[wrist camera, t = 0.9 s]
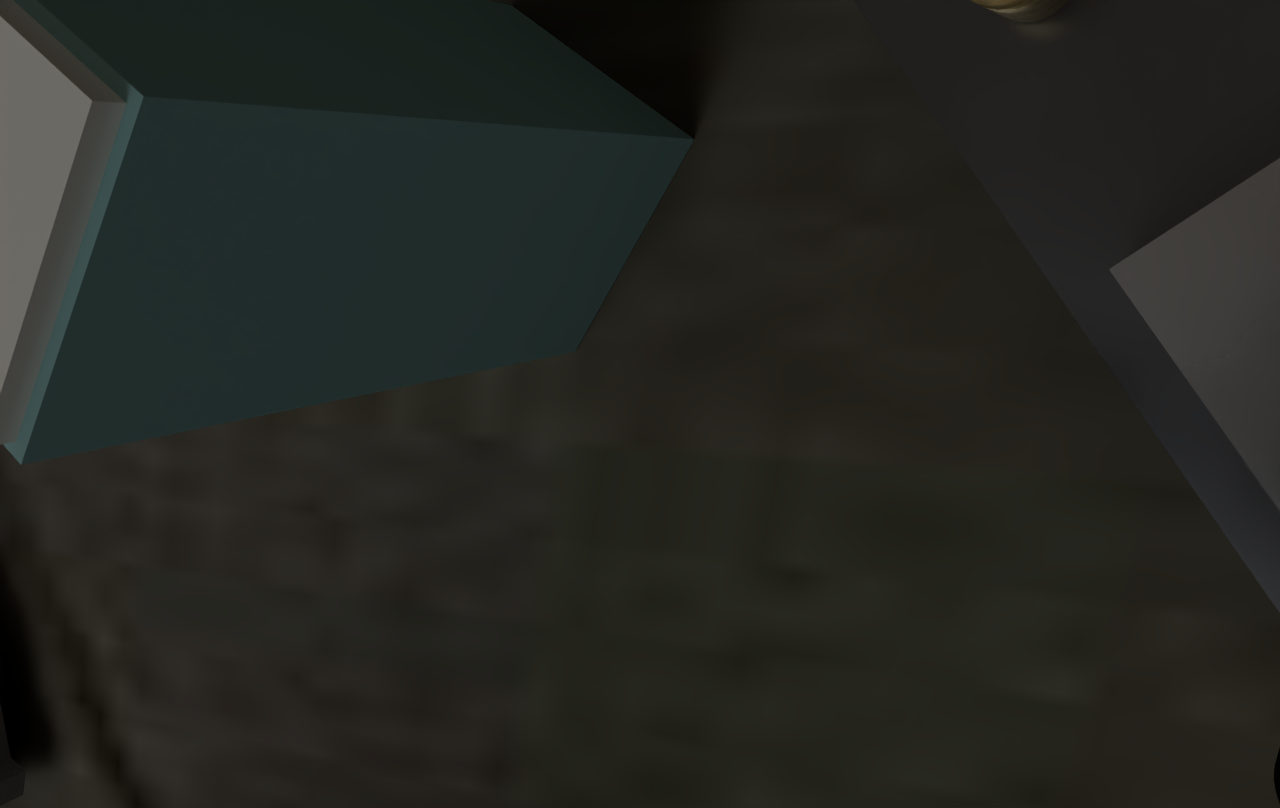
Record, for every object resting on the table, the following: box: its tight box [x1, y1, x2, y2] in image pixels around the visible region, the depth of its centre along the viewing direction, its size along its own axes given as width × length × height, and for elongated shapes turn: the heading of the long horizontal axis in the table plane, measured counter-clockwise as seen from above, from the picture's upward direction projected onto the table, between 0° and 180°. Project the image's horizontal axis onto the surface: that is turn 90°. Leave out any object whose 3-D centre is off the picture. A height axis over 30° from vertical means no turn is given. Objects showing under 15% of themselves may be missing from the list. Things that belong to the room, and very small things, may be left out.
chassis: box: [853, 0, 1280, 613], centre depth 16 cm, size 16×8×4 cm, turn 37°
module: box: [0, 0, 694, 465], centre depth 19 cm, size 5×5×12 cm
